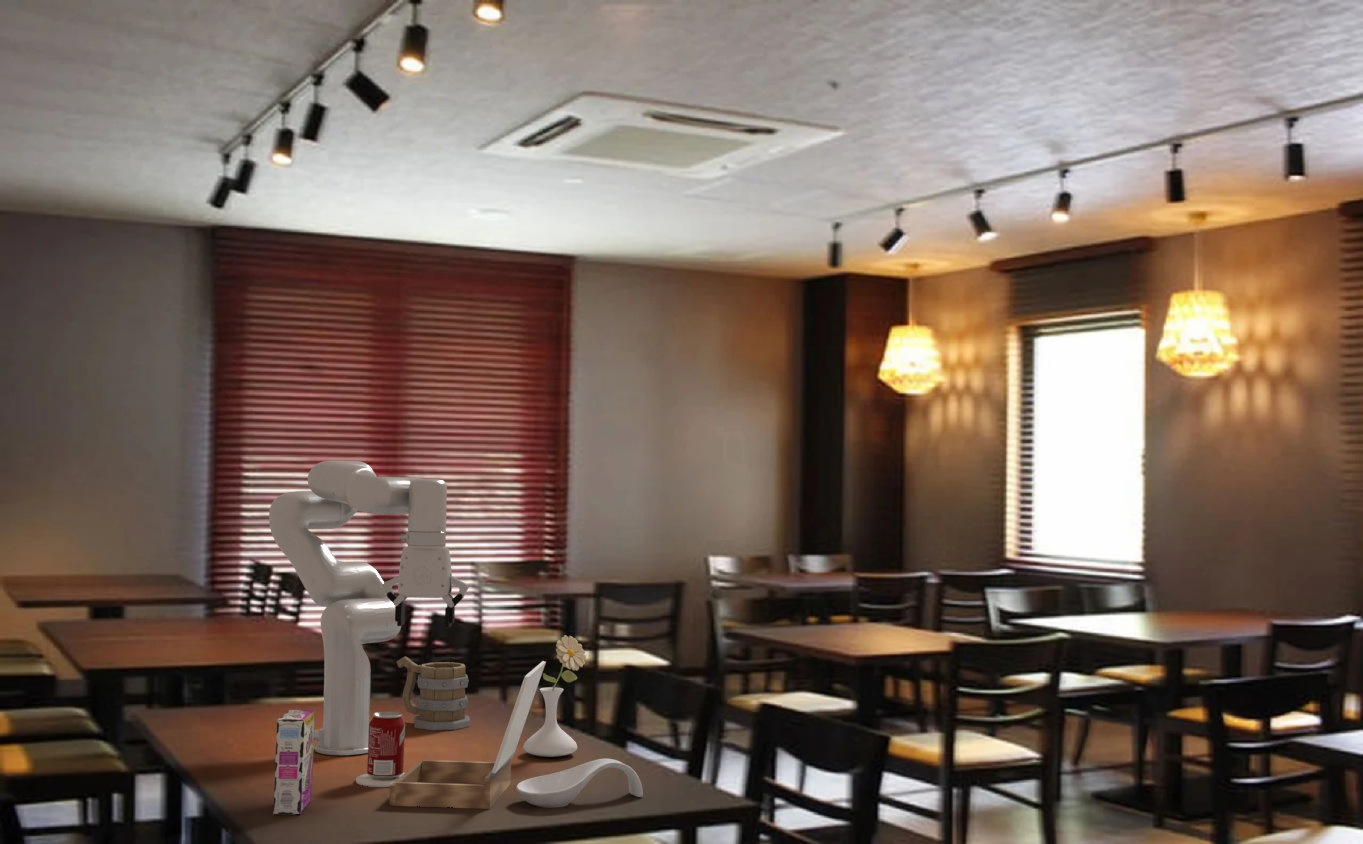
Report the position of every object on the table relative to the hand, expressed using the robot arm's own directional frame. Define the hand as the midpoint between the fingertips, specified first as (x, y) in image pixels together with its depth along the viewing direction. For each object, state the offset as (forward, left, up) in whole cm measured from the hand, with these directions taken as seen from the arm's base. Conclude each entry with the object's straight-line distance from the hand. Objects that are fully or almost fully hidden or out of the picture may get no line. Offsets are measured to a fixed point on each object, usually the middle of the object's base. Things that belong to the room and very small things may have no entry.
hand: (424, 626), depth 282 cm
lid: (+23, -21, -14) cm, 34 cm away
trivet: (-4, -12, -28) cm, 31 cm away
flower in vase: (+24, +17, -28) cm, 41 cm away
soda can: (-4, -12, -28) cm, 30 cm away
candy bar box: (-14, -35, -28) cm, 47 cm away
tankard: (-10, +48, -28) cm, 57 cm away
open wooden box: (+11, -21, -28) cm, 37 cm away
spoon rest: (+35, -22, -29) cm, 50 cm away
